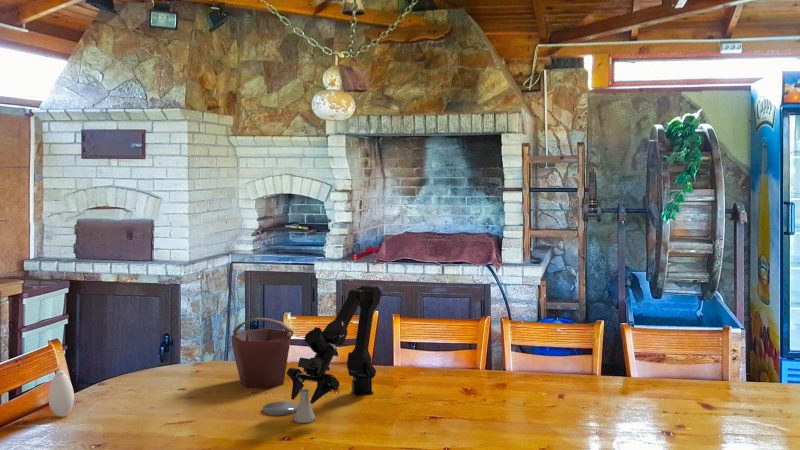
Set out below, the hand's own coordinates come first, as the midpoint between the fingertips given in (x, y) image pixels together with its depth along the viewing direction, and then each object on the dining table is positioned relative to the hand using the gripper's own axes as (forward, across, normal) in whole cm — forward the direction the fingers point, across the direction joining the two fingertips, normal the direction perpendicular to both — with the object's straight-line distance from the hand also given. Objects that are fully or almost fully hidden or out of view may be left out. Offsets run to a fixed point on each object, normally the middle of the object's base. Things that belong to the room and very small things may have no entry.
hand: (301, 401), depth 245 cm
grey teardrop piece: (+31, -73, -22) cm, 82 cm away
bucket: (-13, -40, +23) cm, 48 cm away
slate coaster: (+1, -14, +8) cm, 16 cm away
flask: (+4, 0, +6) cm, 7 cm away
